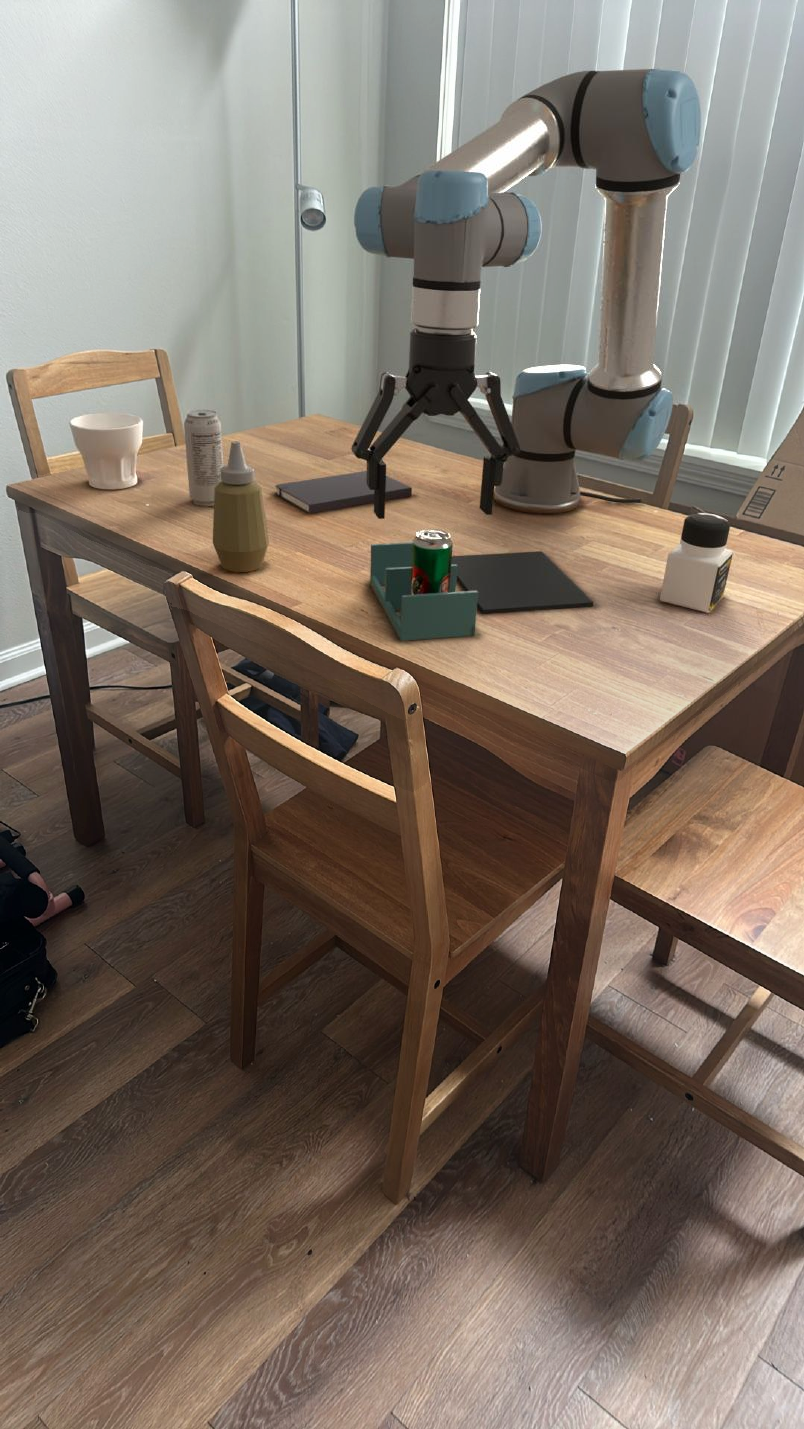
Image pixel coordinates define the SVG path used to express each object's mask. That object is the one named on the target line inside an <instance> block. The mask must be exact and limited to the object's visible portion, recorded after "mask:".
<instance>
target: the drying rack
mask: <svg viewBox="0 0 804 1429" xmlns="http://www.w3.org/2000/svg"><path fill="white" fill-rule="evenodd" d="M412 542H413V541H408V542H406V541H405V542H388V543H387V542H386V543H371V544H370V570H369V571H370V573H369V584H370V587H371V588H372V590H373V592H374V594H375V596H376V598H377V599H378V601H379V603H380V605H381V607H382V609H383V611H384V612H385V614H386V616H387V618H388V620H389V622H390V623H391V626H392V627H393V629H394V630H395V632H396V635H397V636H398V639H399V640H400V641H401V642H405V641H406V642H407V641H421V640H433V639H446V638H447V639H448V638H459V637H460V638H461V637H474V636H475V635H476V623H477V612H478V606H477V599H478V592H477V591H466V590H463V591H456V590H457V579H456V578H457V565H456V564H452V565H451V579H450V592H447V593H431V594H415V595H410V587H411V563H412ZM382 586H384V589H383V587H382ZM399 611H400V617H399V615H398V614H397V612H399Z"/></svg>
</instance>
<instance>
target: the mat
mask: <svg viewBox="0 0 804 1429" xmlns="http://www.w3.org/2000/svg"><path fill="white" fill-rule="evenodd" d="M452 564H456V565H457V578H456V581H458V583H459V584H460V585H461V587H462V588H463V589H464V591H477V592H478V599H477V609H478V610H479V611H480V612H481V614H498V613H511V612H525V611H541V610H556V609H558V610H559V609H569V608H572V609H573V608H585V607H594V601H593V600H592V599H591V598H590V597H589V596H588V595H587V594H586V593H585V592H584V591H583V590H582V589H580V587H579V586H577V585H576V583H575V582H574V581H573V580H571V579H570V578H569V576H567V575H566V574H565V572H564V571H562V570H561V568H560V567H558V566H557V565H556V564H555V563H554V561H552V560H551V558H549V556H547V555H546V553H544V552H543V551H540V550H539V551H524V552H522V551H521V552H505V553H504V552H503V553H486V554H484V553H483V554H468V555H467V554H465V555H452V563H451V565H452Z"/></svg>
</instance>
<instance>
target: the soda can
mask: <svg viewBox="0 0 804 1429" xmlns="http://www.w3.org/2000/svg"><path fill="white" fill-rule="evenodd" d="M411 542H412V563H411V587H410V595H415V594H431V593H447V592H450V579H451V563H452V556H453V546H454V544H453V542H452V540H451V534H450V533H449V532H447V531H445V530H441V529H435V528H432V529H431V528H430V529H429V528H428V529H421V530H418V531H417V532H415V538H414V539H413V540H412V541H411Z"/></svg>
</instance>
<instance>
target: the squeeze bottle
mask: <svg viewBox="0 0 804 1429" xmlns="http://www.w3.org/2000/svg"><path fill="white" fill-rule="evenodd" d="M220 474H221V482H220V483H218V484H217V485H216V486H215V492H214V506H213V518H212V519H213V520H212V522H213V523H212V545H213V548H214V550H215V552H216V555H217V557H218V559H219V562H220V565H221V567H222V568H223V569H225V571H230V572H235V573H246V572H247V573H248V572H253V571H257V570H258V569H260V568H262V566H263V564H264V560H265V557H266V554H267V551H268V547H269V545H270V539H269V531H268V525H267V518H266V512H265V504H264V503H265V502H264V496H263V491H262V486H261V485H260V484H259V483H258V482H257V481H255V469H254V467H253V466H251V465H247V464H246V459H245V456H244V452H243V448H242V444H241V442H240V441H237V440H233V441H231V443H230V449H229V455H228V461H227V464H226V465H223V467H222V468H221V469H220Z"/></svg>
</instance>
